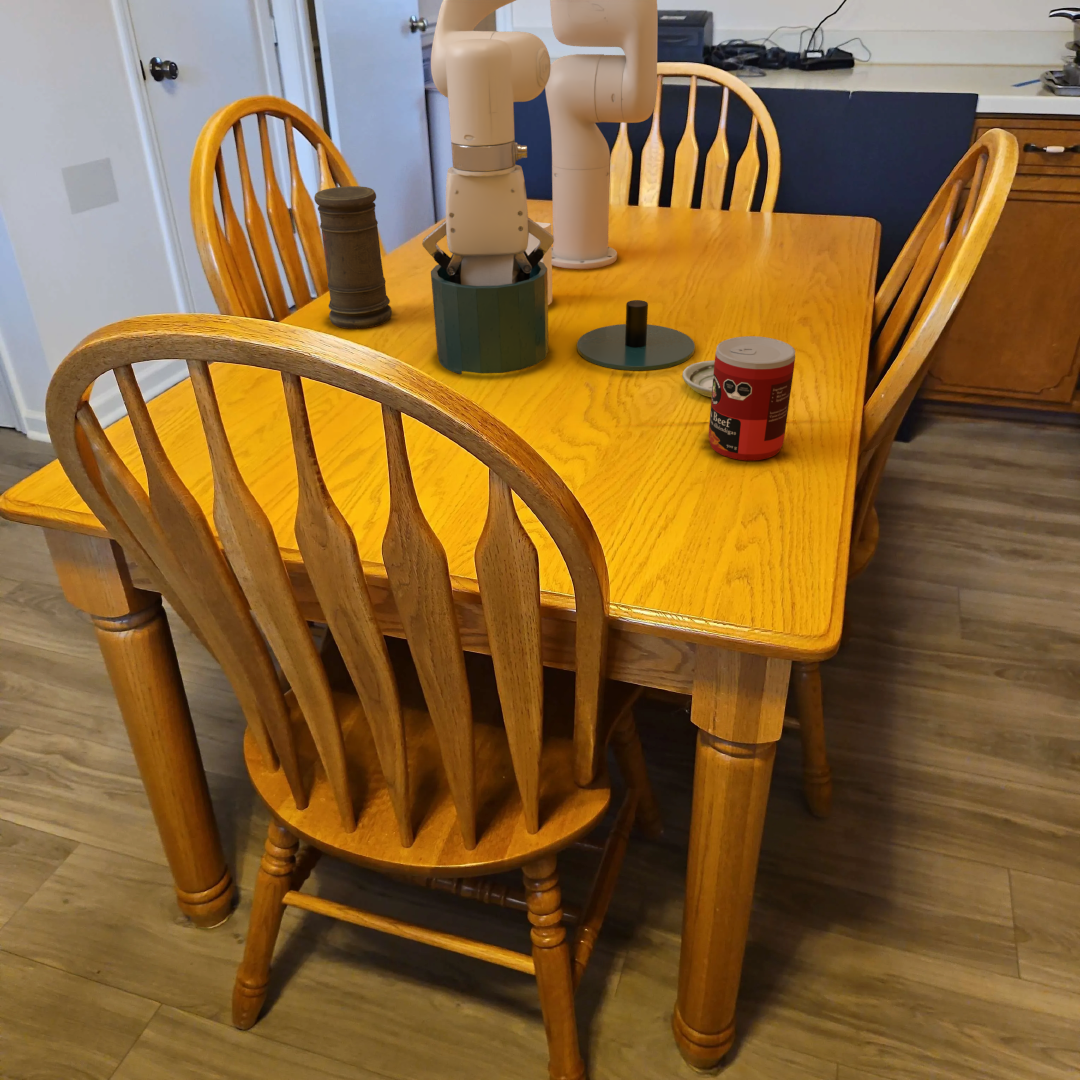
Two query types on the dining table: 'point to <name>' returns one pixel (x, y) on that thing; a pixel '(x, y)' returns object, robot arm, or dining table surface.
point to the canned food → (750, 397)
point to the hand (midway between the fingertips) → (491, 301)
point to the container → (353, 257)
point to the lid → (636, 343)
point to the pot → (491, 323)
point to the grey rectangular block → (489, 270)
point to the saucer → (700, 377)
